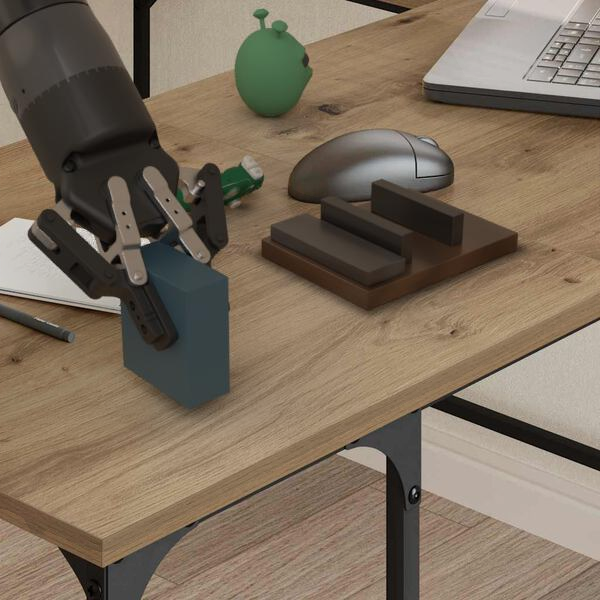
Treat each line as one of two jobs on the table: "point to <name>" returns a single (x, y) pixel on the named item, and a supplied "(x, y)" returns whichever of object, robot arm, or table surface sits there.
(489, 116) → the table surface
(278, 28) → the alien toy
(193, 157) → the table surface
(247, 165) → the gaming controller
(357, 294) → the brown wooden stand
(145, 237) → the robot arm
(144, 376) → the back pad
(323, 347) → the table surface
